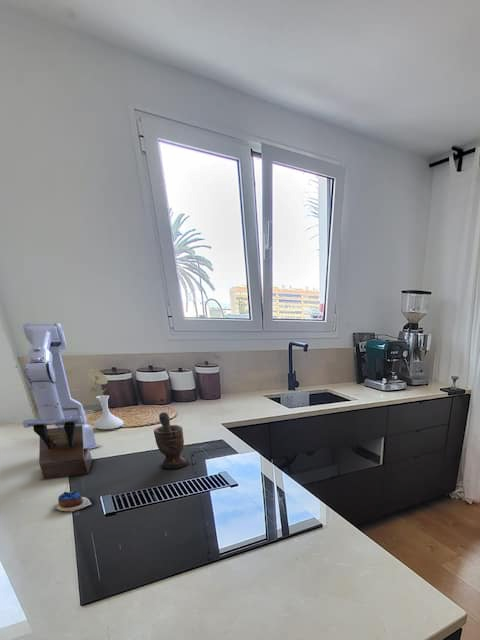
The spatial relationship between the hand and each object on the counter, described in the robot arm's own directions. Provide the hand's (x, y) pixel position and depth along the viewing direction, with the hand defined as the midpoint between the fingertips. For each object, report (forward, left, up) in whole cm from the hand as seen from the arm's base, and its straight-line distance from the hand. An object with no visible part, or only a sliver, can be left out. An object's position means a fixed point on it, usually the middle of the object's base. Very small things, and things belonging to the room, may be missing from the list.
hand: (61, 446), depth 123 cm
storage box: (-2, -2, -8) cm, 9 cm away
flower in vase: (-39, -36, -9) cm, 54 cm away
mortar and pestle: (-20, +26, -9) cm, 34 cm away
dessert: (+13, +25, -9) cm, 30 cm away
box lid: (-1, -2, 0) cm, 2 cm away
